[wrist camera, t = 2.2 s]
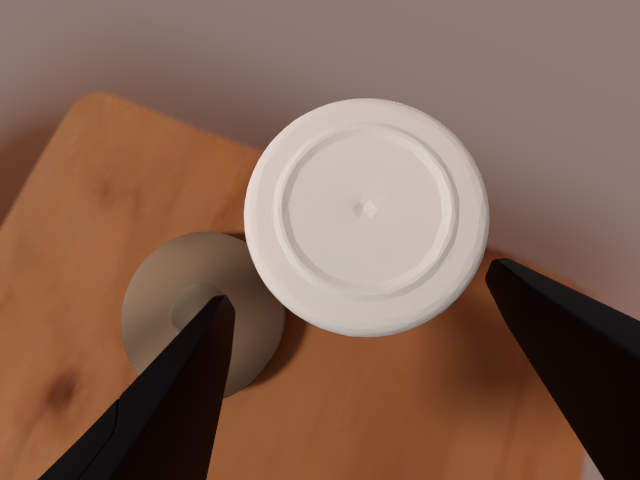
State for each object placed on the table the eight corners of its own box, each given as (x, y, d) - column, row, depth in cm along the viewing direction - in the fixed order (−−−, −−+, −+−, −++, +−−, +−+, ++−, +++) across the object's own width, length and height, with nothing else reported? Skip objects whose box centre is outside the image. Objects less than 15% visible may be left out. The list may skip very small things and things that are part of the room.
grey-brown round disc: (316, 334, 17) (314, 340, 15) (182, 424, 17) (167, 439, 15) (237, 207, 18) (229, 201, 17) (114, 287, 18) (94, 288, 17)
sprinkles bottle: (307, 229, 18) (229, 103, 5) (369, 222, 18) (474, 69, 4) (313, 292, 17) (243, 356, 4) (378, 285, 17) (530, 331, 4)
